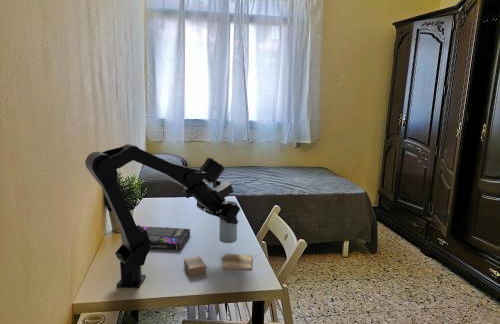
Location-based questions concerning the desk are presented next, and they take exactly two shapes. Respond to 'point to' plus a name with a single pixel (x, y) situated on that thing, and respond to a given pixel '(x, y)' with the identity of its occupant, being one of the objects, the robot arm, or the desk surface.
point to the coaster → (238, 262)
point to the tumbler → (228, 229)
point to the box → (167, 237)
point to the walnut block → (195, 266)
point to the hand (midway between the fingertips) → (231, 220)
